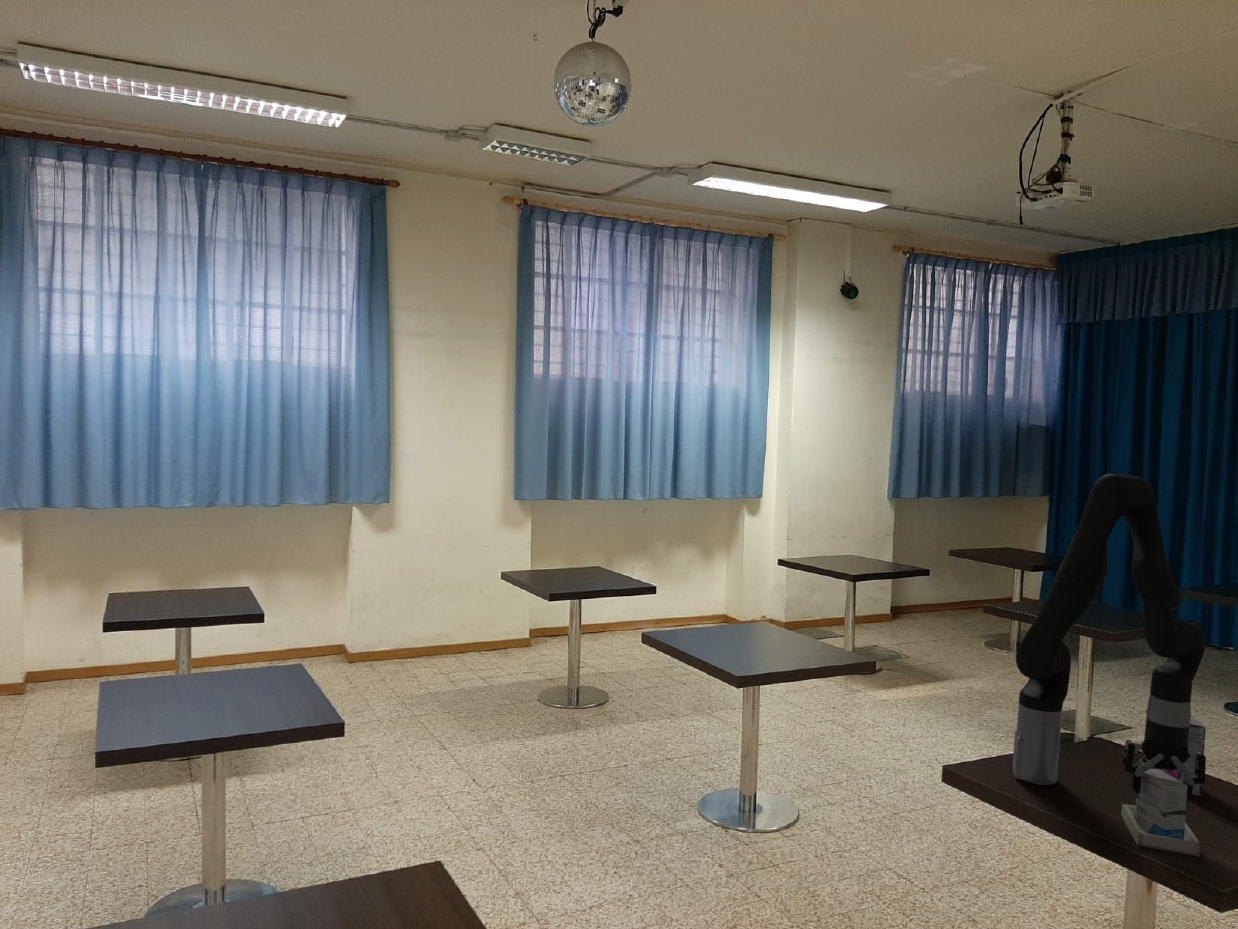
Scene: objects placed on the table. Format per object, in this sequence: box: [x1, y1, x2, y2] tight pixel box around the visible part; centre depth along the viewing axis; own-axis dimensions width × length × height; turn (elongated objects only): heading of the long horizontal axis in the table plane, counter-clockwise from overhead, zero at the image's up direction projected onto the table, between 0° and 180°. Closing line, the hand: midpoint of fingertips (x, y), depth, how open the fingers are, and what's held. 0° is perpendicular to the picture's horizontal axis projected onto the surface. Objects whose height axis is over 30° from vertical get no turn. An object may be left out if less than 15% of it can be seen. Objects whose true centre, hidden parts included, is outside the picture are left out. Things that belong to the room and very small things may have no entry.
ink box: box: [1135, 768, 1187, 840], centre depth 179 cm, size 9×5×12 cm, turn 7°
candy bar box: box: [1159, 715, 1207, 797], centre depth 205 cm, size 11×5×16 cm, turn 168°
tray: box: [1120, 803, 1202, 857], centre depth 180 cm, size 11×15×2 cm
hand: (1160, 797), depth 179 cm, fingers open, 8 cm apart
